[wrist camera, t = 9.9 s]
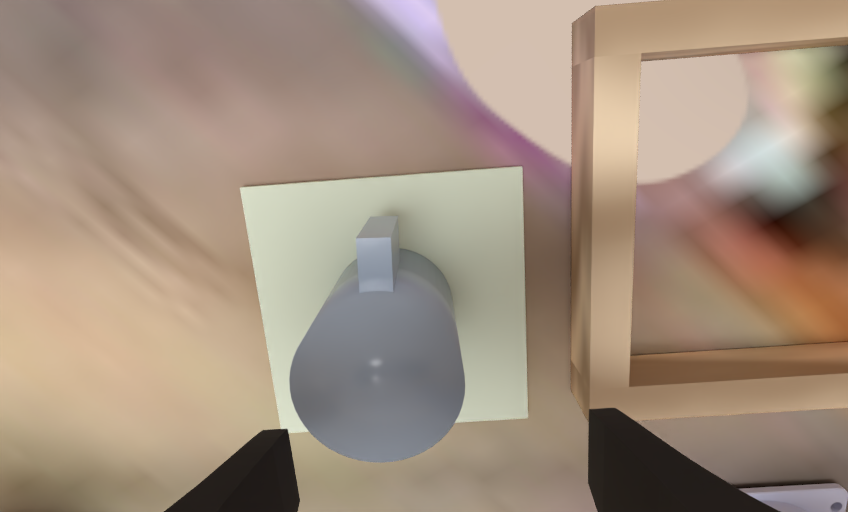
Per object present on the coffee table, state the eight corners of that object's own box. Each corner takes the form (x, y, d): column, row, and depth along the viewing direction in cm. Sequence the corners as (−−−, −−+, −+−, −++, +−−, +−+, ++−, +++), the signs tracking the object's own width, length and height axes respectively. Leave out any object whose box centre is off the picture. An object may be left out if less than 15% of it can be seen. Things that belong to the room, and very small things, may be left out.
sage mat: (526, 412, 22) (528, 418, 21) (284, 428, 22) (281, 433, 22) (520, 165, 19) (522, 166, 18) (243, 186, 19) (239, 187, 19)
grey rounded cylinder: (453, 359, 21) (466, 460, 14) (337, 362, 21) (297, 464, 14) (451, 206, 19) (464, 244, 13) (324, 210, 19) (274, 249, 13)
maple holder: (916, 368, 21) (980, 399, 19) (570, 390, 21) (589, 423, 19) (992, -12, 17) (1085, -35, 15) (571, 23, 18) (595, 6, 15)
